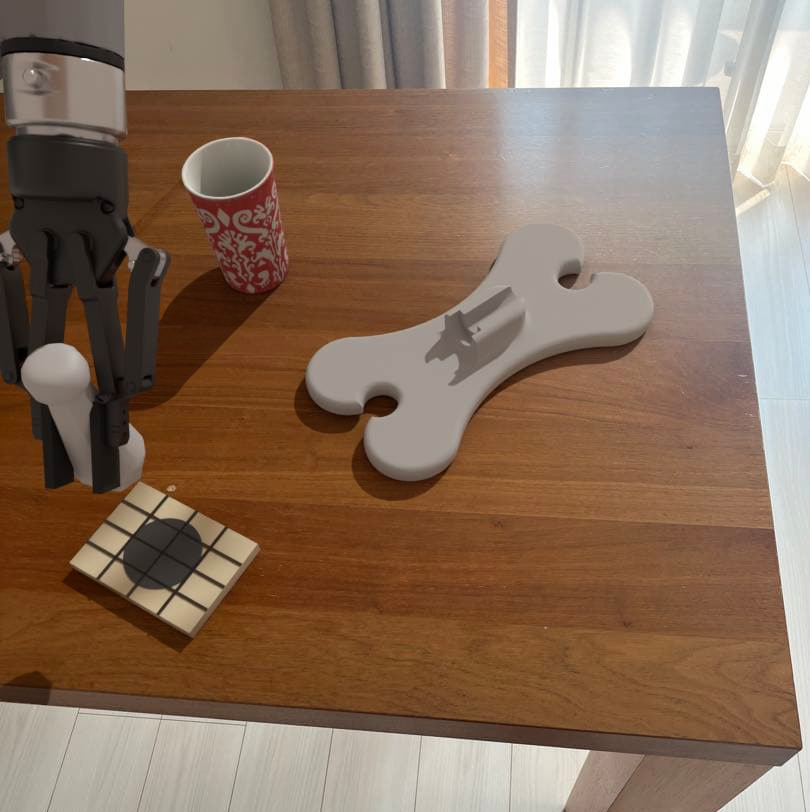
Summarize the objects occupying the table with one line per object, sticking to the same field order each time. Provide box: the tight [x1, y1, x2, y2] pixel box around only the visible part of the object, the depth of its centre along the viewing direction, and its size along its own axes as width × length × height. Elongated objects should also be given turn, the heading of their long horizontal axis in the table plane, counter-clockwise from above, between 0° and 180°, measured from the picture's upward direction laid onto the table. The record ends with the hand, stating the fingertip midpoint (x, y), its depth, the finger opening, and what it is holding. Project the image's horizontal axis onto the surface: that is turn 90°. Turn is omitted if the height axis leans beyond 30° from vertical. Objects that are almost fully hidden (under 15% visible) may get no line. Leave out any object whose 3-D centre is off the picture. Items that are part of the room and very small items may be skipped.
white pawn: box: [21, 342, 146, 493], centre depth 64 cm, size 6×6×13 cm
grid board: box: [68, 480, 261, 639], centre depth 80 cm, size 14×10×1 cm
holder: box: [304, 221, 655, 482], centre depth 87 cm, size 19×34×5 cm, turn 127°
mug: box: [180, 136, 290, 295], centre depth 93 cm, size 13×9×14 cm
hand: (83, 486), depth 65 cm, fingers closed on white pawn, 3 cm apart
